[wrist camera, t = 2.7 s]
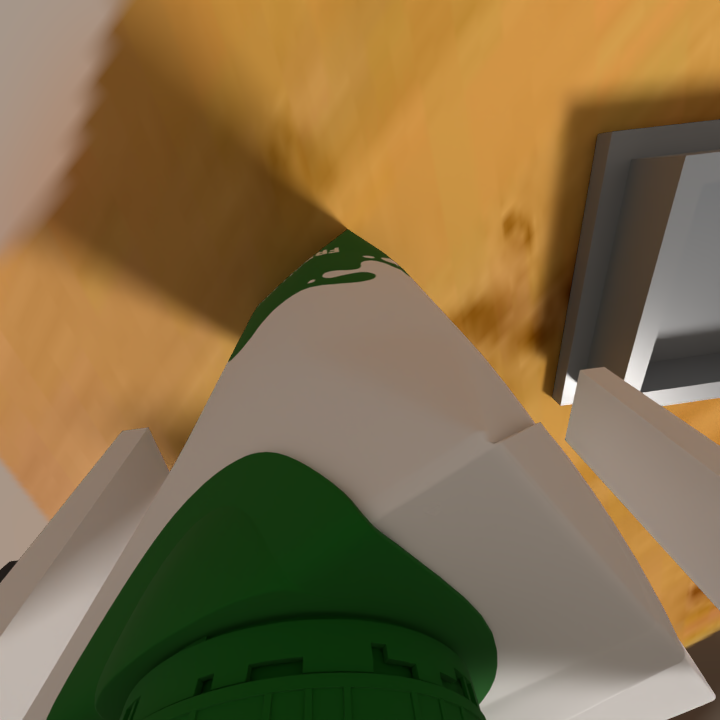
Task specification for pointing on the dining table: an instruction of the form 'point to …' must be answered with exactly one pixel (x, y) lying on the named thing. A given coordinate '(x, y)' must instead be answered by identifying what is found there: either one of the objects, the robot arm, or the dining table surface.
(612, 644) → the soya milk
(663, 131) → the dock
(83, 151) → the dining table surface
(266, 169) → the dining table surface
